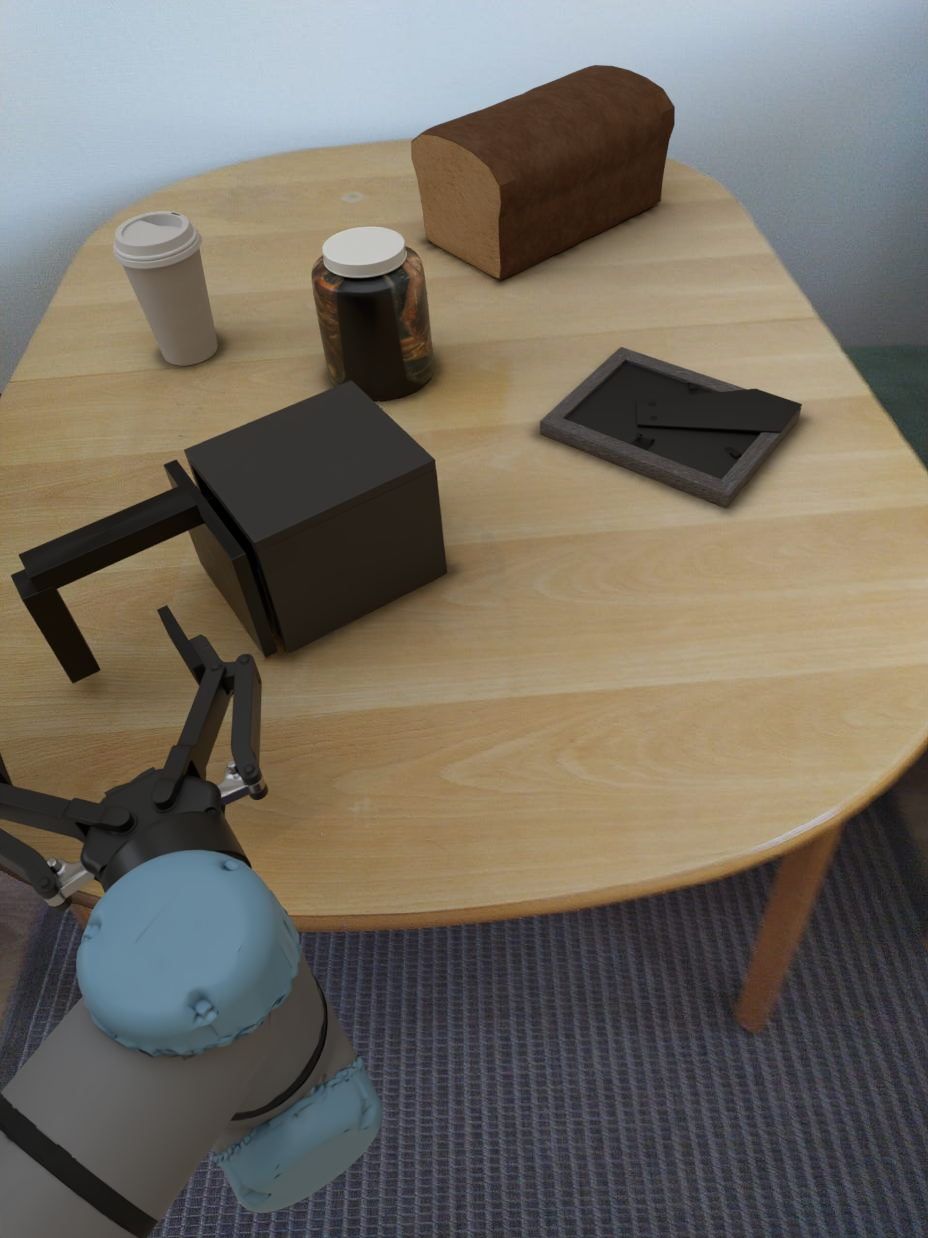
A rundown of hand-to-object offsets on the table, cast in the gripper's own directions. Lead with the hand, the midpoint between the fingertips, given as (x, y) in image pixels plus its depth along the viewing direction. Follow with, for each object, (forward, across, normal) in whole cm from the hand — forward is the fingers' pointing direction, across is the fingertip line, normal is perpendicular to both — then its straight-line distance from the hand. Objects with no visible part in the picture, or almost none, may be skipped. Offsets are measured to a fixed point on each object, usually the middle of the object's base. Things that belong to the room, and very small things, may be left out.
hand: (73, 664), depth 64 cm
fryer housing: (+10, +23, -12) cm, 28 cm away
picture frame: (+7, +61, -13) cm, 62 cm away
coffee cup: (+52, +26, -12) cm, 60 cm away
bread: (+51, +77, -12) cm, 94 cm away
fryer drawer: (+10, +14, -11) cm, 20 cm away
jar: (+34, +42, -12) cm, 56 cm away
